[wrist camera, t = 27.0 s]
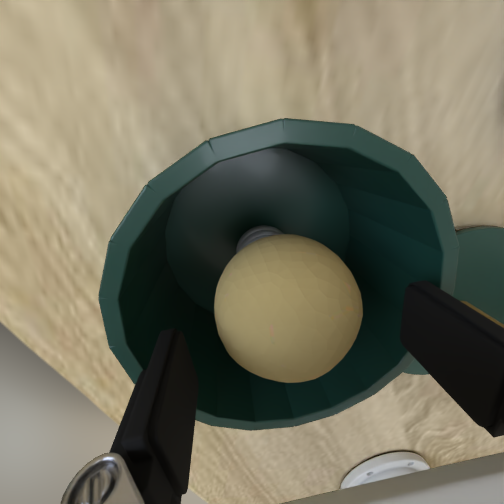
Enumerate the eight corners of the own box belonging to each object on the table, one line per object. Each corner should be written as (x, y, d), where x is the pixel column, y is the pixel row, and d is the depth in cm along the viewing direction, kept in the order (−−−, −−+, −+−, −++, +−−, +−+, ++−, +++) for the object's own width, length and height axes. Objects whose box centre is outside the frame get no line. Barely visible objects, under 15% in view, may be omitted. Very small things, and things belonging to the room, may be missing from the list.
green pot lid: (452, 376, 27) (513, 436, 21) (335, 350, 23) (372, 414, 17) (562, 256, 22) (679, 292, 16) (435, 195, 18) (532, 216, 12)
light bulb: (280, 295, 19) (334, 428, 10) (203, 270, 18) (185, 402, 8) (320, 224, 17) (432, 309, 8) (238, 187, 15) (262, 244, 6)
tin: (303, 338, 22) (348, 442, 14) (136, 299, 18) (75, 410, 11) (391, 185, 17) (531, 215, 9) (190, 92, 14) (151, 16, 6)
